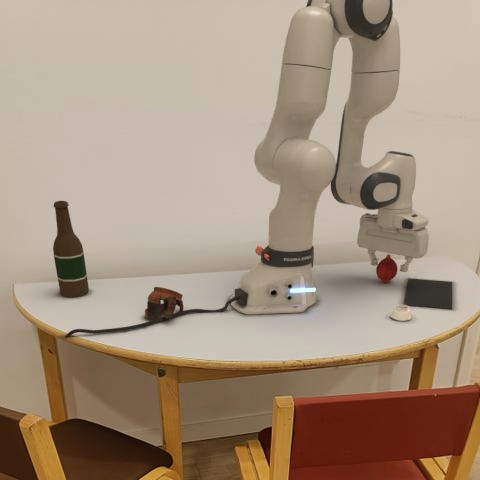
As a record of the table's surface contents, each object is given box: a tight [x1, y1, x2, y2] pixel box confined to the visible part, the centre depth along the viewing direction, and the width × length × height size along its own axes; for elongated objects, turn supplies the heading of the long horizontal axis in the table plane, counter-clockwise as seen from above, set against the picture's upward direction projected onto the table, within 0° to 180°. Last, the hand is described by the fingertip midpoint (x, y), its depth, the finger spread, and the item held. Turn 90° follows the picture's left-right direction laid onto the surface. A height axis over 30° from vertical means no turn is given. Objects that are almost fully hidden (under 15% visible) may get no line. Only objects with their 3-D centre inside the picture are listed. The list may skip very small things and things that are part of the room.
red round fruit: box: [375, 253, 399, 284], centre depth 167 cm, size 6×6×8 cm
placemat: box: [403, 277, 453, 311], centre depth 162 cm, size 22×12×1 cm, turn 163°
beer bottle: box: [52, 200, 90, 298], centre depth 158 cm, size 8×8×24 cm
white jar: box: [390, 304, 413, 322], centre depth 146 cm, size 5×3×5 cm
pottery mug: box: [144, 286, 184, 323], centre depth 148 cm, size 12×10×8 cm
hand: (388, 268), depth 168 cm, fingers open, 8 cm apart
